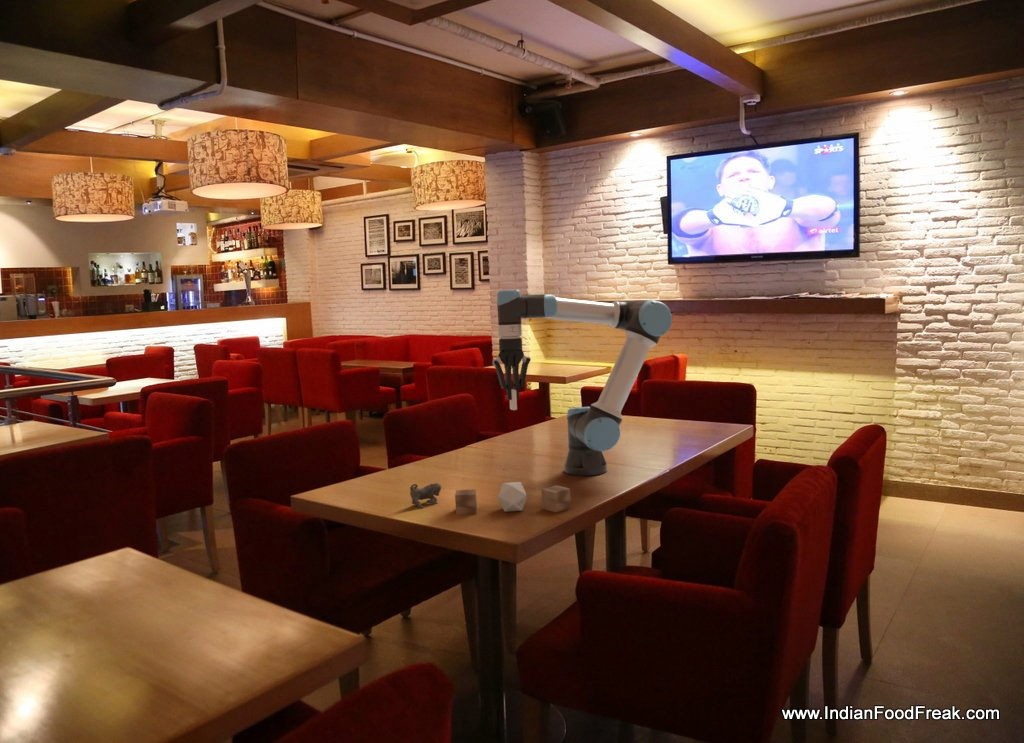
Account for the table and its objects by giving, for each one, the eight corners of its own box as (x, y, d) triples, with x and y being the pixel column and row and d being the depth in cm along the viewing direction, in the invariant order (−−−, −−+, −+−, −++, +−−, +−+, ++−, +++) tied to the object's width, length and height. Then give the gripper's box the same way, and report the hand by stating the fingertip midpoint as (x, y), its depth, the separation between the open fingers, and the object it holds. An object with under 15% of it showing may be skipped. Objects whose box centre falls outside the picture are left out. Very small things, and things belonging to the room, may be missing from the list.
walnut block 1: (477, 508, 239) (476, 489, 238) (476, 514, 233) (475, 494, 232) (457, 509, 238) (456, 490, 238) (456, 515, 233) (455, 495, 232)
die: (517, 517, 229) (534, 487, 231) (490, 502, 230) (507, 472, 232) (517, 519, 237) (533, 490, 240) (491, 505, 238) (507, 476, 241)
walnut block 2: (556, 504, 239) (556, 485, 238) (570, 508, 234) (570, 488, 234) (542, 508, 235) (541, 489, 235) (556, 512, 231) (555, 492, 230)
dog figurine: (417, 510, 240) (415, 486, 239) (406, 506, 244) (405, 483, 243) (448, 501, 248) (447, 478, 247) (437, 498, 252) (436, 475, 251)
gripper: (495, 339, 249) (498, 412, 252) (533, 336, 254) (536, 409, 256) (487, 338, 256) (491, 409, 259) (524, 335, 261) (527, 406, 263)
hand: (513, 409), depth 257 cm, fingers closed
